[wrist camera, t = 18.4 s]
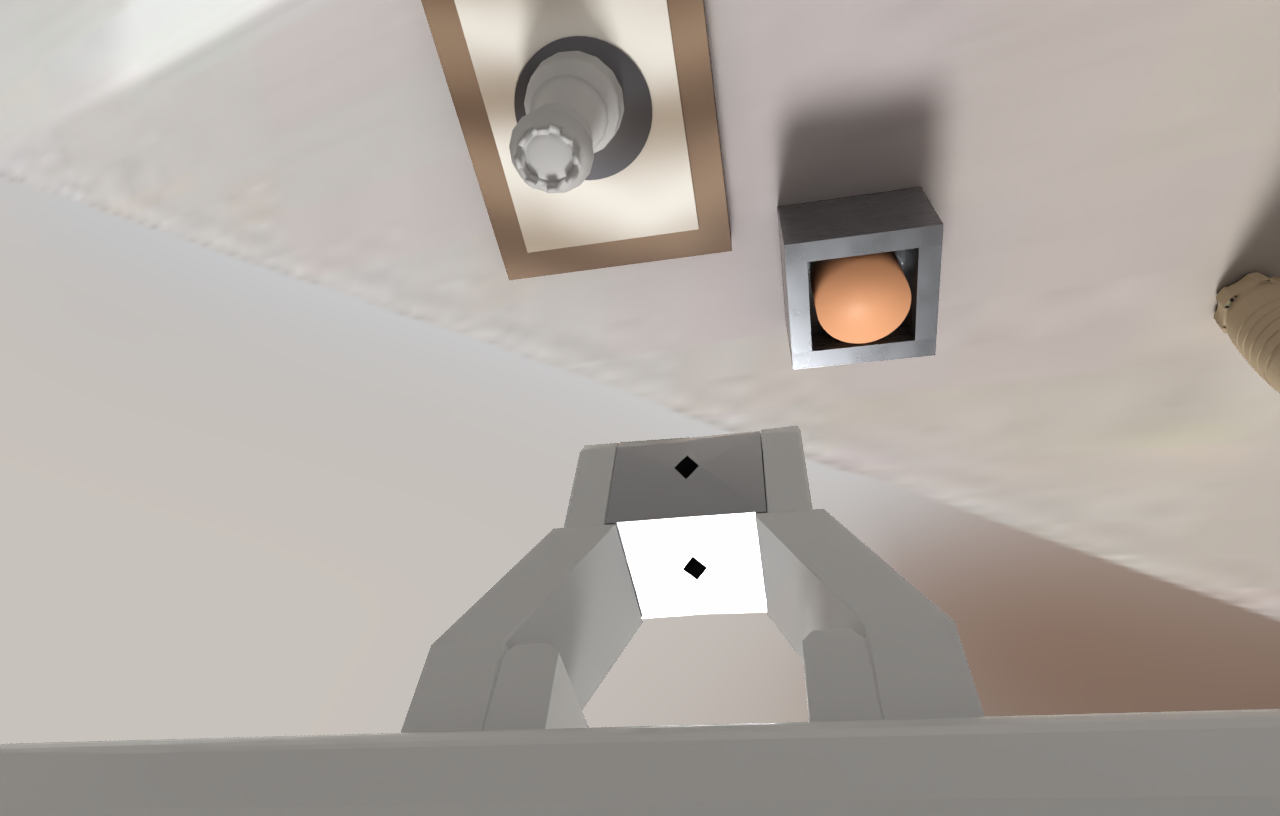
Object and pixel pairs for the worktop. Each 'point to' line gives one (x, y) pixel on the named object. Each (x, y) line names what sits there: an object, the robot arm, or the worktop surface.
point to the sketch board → (629, 164)
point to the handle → (1254, 322)
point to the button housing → (852, 232)
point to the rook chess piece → (565, 121)
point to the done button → (860, 296)
